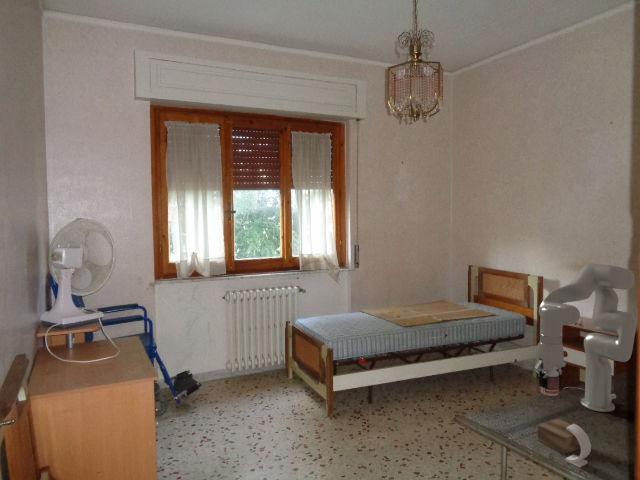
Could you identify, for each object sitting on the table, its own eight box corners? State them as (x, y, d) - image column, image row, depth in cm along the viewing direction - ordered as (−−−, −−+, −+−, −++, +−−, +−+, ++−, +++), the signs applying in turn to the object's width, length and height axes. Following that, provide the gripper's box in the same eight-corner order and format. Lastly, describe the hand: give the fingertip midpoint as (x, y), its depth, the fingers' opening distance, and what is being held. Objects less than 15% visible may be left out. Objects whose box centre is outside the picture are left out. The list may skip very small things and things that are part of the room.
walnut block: (558, 433, 179) (558, 418, 179) (585, 447, 170) (585, 431, 169) (537, 440, 175) (538, 424, 174) (564, 454, 165) (564, 438, 164)
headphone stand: (572, 456, 163) (573, 423, 162) (590, 465, 158) (591, 430, 157) (565, 460, 161) (566, 427, 160) (582, 469, 156) (583, 434, 155)
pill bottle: (562, 393, 178) (562, 365, 177) (552, 397, 175) (553, 369, 174) (546, 388, 183) (547, 361, 182) (537, 392, 180) (537, 364, 179)
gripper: (558, 333, 184) (557, 378, 186) (526, 339, 177) (525, 386, 179) (575, 338, 177) (574, 385, 179) (542, 345, 170) (541, 393, 172)
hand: (549, 385), depth 179 cm, fingers closed on pill bottle, 6 cm apart
